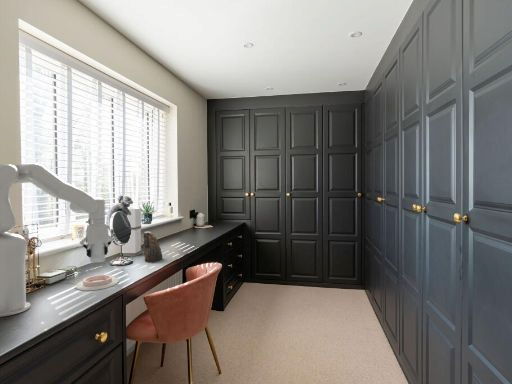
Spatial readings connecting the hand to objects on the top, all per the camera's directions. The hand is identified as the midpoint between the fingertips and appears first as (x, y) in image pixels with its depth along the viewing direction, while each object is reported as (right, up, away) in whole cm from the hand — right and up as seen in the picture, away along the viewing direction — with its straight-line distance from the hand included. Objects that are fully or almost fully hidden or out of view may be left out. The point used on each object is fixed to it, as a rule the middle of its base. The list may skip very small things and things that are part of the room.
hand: (97, 255), depth 156 cm
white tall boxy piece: (-12, -14, +70) cm, 73 cm away
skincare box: (0, -4, 0) cm, 4 cm away
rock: (+11, -15, +52) cm, 55 cm away
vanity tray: (0, -15, 0) cm, 15 cm away
